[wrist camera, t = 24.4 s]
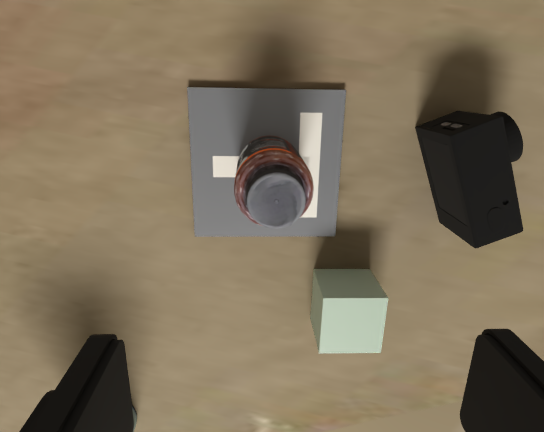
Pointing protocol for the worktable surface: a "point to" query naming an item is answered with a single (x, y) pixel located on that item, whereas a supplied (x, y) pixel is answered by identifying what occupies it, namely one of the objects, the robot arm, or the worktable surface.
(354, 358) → the worktable surface
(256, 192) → the supplement bottle
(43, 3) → the worktable surface
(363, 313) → the sage block
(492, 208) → the digital camera
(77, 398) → the robot arm
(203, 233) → the board
